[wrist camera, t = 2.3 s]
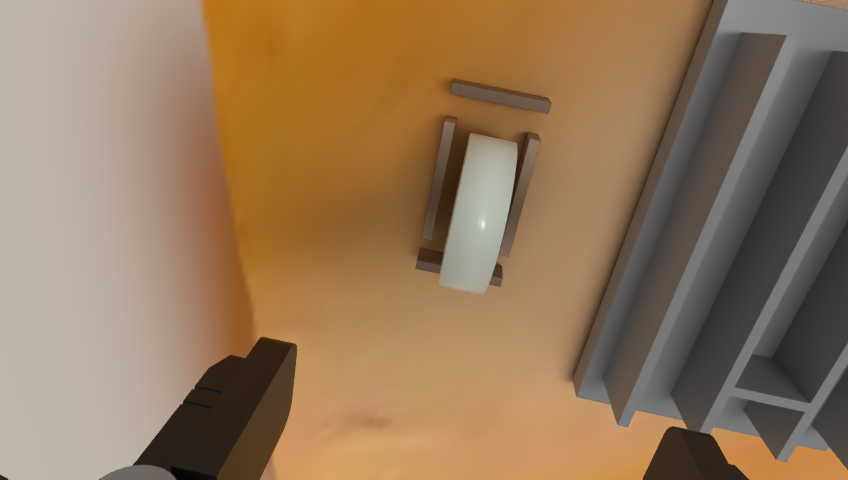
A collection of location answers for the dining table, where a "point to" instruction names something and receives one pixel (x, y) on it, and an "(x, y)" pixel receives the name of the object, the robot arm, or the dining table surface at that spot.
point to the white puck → (479, 214)
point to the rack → (740, 242)
